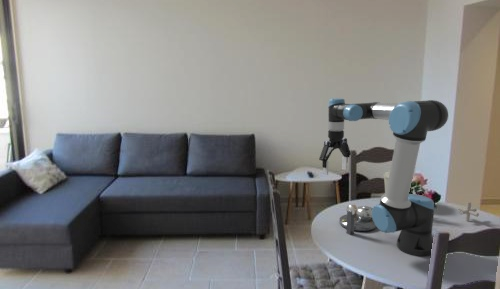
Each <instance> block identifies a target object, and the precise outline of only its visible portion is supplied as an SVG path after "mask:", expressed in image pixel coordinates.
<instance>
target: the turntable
mask: <svg viewBox="0 0 500 289" xmlns="http://www.w3.org/2000/svg"><path fill="white" fill-rule="evenodd" d="M352 205H353V206H354V207H355V209H356V213H355V219H354V230H355V231H354V232H369V231H373V230H375V229H377V227H376V225H375V223H374V221H369V222H365V221H360V220H358V219H357V208H358V207H357V205H355V204H352ZM339 225H340V226H341V227H343V228H344V229H347V214H344V215H341V216H340V217H339Z"/></svg>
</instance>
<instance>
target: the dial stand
mask: <svg viewBox="0 0 500 289" xmlns="http://www.w3.org/2000/svg"><path fill="white" fill-rule="evenodd" d="M353 205H354V204H349V205H347V206H346V208H345V210H346V215H347V228H346V231H345V232H346V234H347V235H350V236H352V235H354V234H355V231H354V219H355V213H356V209H355V207H354V206H353Z"/></svg>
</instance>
